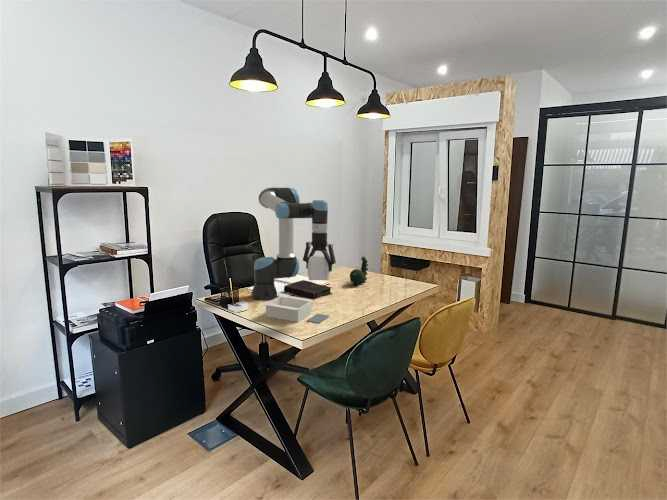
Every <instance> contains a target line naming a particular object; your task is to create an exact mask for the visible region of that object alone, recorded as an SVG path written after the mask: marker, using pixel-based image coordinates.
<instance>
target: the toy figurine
mask: <svg viewBox="0 0 667 500" xmlns="http://www.w3.org/2000/svg"><path fill="white" fill-rule="evenodd" d="M360 258H361V262H362V263H361V267H360V269H359V268H355V269H353V270H351V271H350V272H349V273H350V274H349V279H350V280H349V281H351V282H352V285H353V286H355V287H358V286H359V285H360V284H362V285H363V284H365V283H366V282H367V280H368V278H367V276H368V272H367V271H368V269H369V268H367V267H368V266H369V265H368V260H367V259H366V257H365V256H362V257H360Z"/></svg>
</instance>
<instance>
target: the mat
mask: <svg viewBox="0 0 667 500" xmlns="http://www.w3.org/2000/svg"><path fill="white" fill-rule="evenodd" d="M328 318H330V315H329V314H322V313H316V314H314V315H313V316H312V317H310V318H308V319H307V320H306V322H307V323H314V324H320V323H322V322H324V321H325V320H327V319H328Z"/></svg>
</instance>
